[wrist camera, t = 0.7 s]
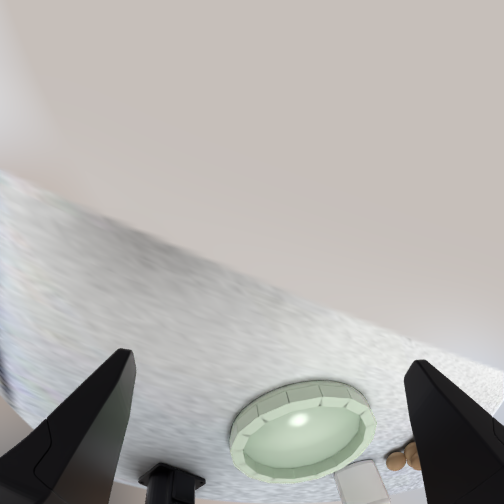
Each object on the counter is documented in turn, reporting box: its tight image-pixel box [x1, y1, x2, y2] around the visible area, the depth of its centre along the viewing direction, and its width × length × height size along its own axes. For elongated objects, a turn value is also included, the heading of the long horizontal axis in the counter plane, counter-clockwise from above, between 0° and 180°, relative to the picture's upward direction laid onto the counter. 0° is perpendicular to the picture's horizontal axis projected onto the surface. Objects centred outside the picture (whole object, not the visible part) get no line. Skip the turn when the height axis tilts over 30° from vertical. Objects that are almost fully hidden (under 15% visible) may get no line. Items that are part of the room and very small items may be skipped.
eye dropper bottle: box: [334, 460, 390, 504], centre depth 29 cm, size 4×6×12 cm
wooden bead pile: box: [386, 442, 421, 471], centre depth 32 cm, size 8×6×5 cm
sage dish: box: [229, 381, 377, 484], centre depth 29 cm, size 15×15×2 cm
